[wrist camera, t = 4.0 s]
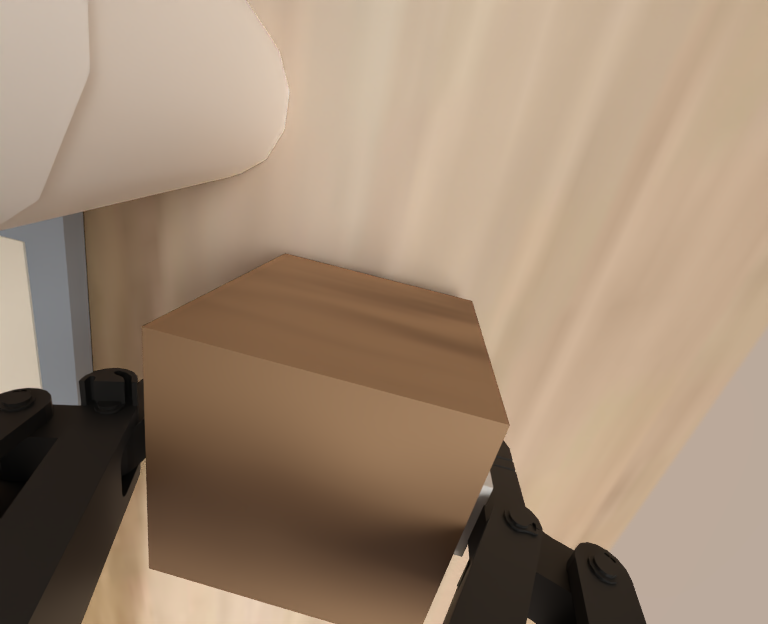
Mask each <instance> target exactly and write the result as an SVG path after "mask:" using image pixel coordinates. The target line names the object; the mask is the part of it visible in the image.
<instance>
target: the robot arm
mask: <svg viewBox="0 0 768 624" xmlns="http://www.w3.org/2000/svg"><path fill="white" fill-rule="evenodd" d="M79 388H80V398H81V405H56V404H52V397H51V394H50V393H49V392H48V391H46V390H43V389H40V388H22V389H15V390H11V391H8V392H4V393H1V394H0V624H81V623H82V620H83V618H84V615H85V612H86V610H87V607H88V605H89V602H90V600H91V597H92V595H93V592H94V590H95V587H96V585H97V582H98V579H99V577H100V574H101V572H102V569H103V567H104V564H105V562H106V559H107V557H108V554H109V551H110V549H111V546H112V544H113V541H114V539H115V536H116V534H117V531H118V529H119V526H120V524H121V521H122V518H123V516H124V513H125V511H126V508H127V506H128V503H129V501H130V498H131V496H132V493H133V490H134V488H135V485H136V483H137V480H138V478H139V475H140V463H141V462H142V461H143V460H144V459H145V458H146V448H145V414H144V381H143V379H142V380H141V381H139V382H138V378H137V376H136V374H135V373H134V372H132V371H130V370H127V369H121V368H109V369H102V370H98V371H94V372H92V373H90V374H87V375H85V376H84V377H83V378H81V379H80V380H79ZM467 545H468V549H469V561H468V563H467V565H466V567H465V569H464V571H463V574H462V576H461V578H460V580H459V582H458V584H457V586H458V587H457V589H456V592H455V594H454V597H453V599H452V602H451V604H450V607H449V610H448V612H447V615H446V617H445V620H444V622H443V624H526V621H527V618H529V619H530V620H532V621H533V622H535V623H536V624H646V621H645V618H644V615H643V612H642V609H641V606H640V603H639V600H638V597H637V595H636V591H635V588H634V586H633V583H632V580H631V578H630V576H629V574H628V572H627V570H626V569H625V568H624V566H623V565H622V564H621V563H620V562H619V560H618V559H617V558H615V557H614V556H613V555H612V554H611V553H610V552H608V551H607V550H605V549H603V548H602V547H600V546H598V545H596V544H592V543H588V542H586V543H580V544H579V545H578V546H577V547H576V548H575V550H572V549H571V548H569V547H567V546H565V545H563V544H562V543H560V542H558V541H556V540H555V539H553V538H551V537H550V536H548V535H547V534H545V533H544V532H543V531H542V526H541V524H540V522H539V520H538V519H537V517H536V516H535V515H534V514H533V513H532V512H531V511H530V510H529V509H528V508H526V507H525V503H524V500H523V496H522V493H521V489H520V485H519V482H518V478H517V474H516V472H515V467H514V463H513V462H512V456H511V453H510V449H509V447H508V446H507V444H506V443H505V442H504V440H503V442H502V444H501V446H500V448H499V451H498V453H497V455H496V458H495V460H494V462H493V464H492V467H491V469H490V471H489V474H488V476H487V478H486V480H485V483H484V485H483V487H482V490H481V492H480V494H479V496H478V499H477V501H476V503H475V506H474V508H473V510H472V512H471V515H470V517H469V519H468V522H467V524H466V526H465V528H464V531H463V533H462V535H461V538H460V540H459V542H458V544H457V547H456V549H455V551H454V555H458V556H461V557H462V556H463V554H464V551H465V549H466V547H467Z"/></svg>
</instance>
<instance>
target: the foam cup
mask: <svg viewBox="0 0 768 624" xmlns="http://www.w3.org/2000/svg"><path fill="white" fill-rule="evenodd" d="M289 93H290V90H289V86H288V82H287V79H286V75H285V71H284V67H283V63H282V59H281V55H280V51H279V49H278V48H277V46H276V45H275V42H274V41H273V39H272V38H271V36H270V35H269V33H268V32H267V30H266V29H265V27H264V26H263V24H262V23H261V21H260V20H259V18H258V17H257V15H256V14H255V12H254V11H253V9H252V8H251V6H250V5H249V3H248V2H247V0H0V231H1V230H6V229H10V228H14V227H19V226H23V225H27V224H31V223H36V222H40V221H44V220H49V219H53V218H57V217H61V216H66V215H70V214H74V213H79V212H83V211H87V210H91V209H96V208H100V207H104V206H109V205H113V204H117V203H121V202H126V201H130V200H134V199H139V198H143V197H147V196H151V195H156V194H160V193H164V192H169V191H173V190H177V189H181V188H186V187H190V186H194V185H199V184H203V183H207V182H211V181H216V180H220V179H224V178H229V177H232V176H234V175H239V174H241V173H243V172H245V171H247V170H248V169H250V168H252V167H254V166H255V165H257V164H259V163H261V162H263V161H264V160H266V159H267V158H268V156H269V154H270V153H271V151H272V150H273V148H274V146H275V145H276V143H277V142H278V140H279V138H280V137H281V135H282V134H283V132H284V130H285V124H286V116H287V108H288V101H289Z"/></svg>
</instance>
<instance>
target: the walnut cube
mask: <svg viewBox="0 0 768 624" xmlns="http://www.w3.org/2000/svg"><path fill="white" fill-rule="evenodd" d="M142 348H143V381H144V414H145V448H146V481H147V514H148V547H149V568H150V569H153V570H157V571H160V572H164V573H167V574H170V575H174V576H177V577H180V578H184V579H187V580H190V581H194V582H197V583H201V584H204V585H207V586H211V587H214V588H217V589H221V590H224V591H227V592H231V593H234V594H237V595H241V596H244V597H248V598H251V599H254V600H258V601H261V602H264V603H268V604H271V605H274V606H278V607H281V608H285V609H288V610H291V611H295V612H298V613H301V614H305V615H308V616H311V617H315V618H318V619H321V620H325V621H328V622H332V623H335V624H423V622H424V620H425V618H426V615H427V613H428V611H429V609H430V606H431V604H432V602H433V599H434V597H435V595H436V593H437V590H438V588H439V586H440V583H441V581H442V579H443V576H444V574H445V572H446V570H447V567H448V565H449V563H450V560H451V558H452V556H453V554H454V551H455V549H456V547H457V544H458V542H459V540H460V538H461V535H462V533H463V531H464V528H465V526H466V524H467V522H468V519H469V517H470V515H471V512H472V510H473V508H474V506H475V503H476V501H477V499H478V496H479V494H480V492H481V490H482V487H483V485H484V483H485V480H486V478H487V476H488V474H489V471H490V469H491V467H492V464H493V462H494V460H495V458H496V455H497V453H498V451H499V448H500V446H501V444H502V442H503V439H504V437H505V435H506V432H507V430H508V428H509V426H510V424H509V421H508V418H507V415H506V411H505V408H504V405H503V401H502V398H501V395H500V392H499V388H498V385H497V382H496V378H495V375H494V372H493V369H492V365H491V362H490V359H489V355H488V352H487V349H486V346H485V342H484V339H483V336H482V332H481V329H480V326H479V323H478V319H477V316H476V313H475V309H474V306H473V303H472V301H470V300H466V299H462V298H458V297H454V296H450V295H446V294H442V293H439V292H435V291H431V290H427V289H423V288H419V287H415V286H411V285H407V284H403V283H399V282H395V281H391V280H388V279H384V278H380V277H376V276H372V275H368V274H364V273H360V272H356V271H352V270H348V269H344V268H340V267H337V266H333V265H329V264H325V263H321V262H317V261H313V260H309V259H305V258H301V257H297V256H293V255H289V254H286V253H285V254H283V255H281V256H279V257H277V258H275V259H273V260H271V261H269V262H268V263H266V264H264V265H262V266H260V267H258V268H256V269H254V270H252V271H250V272H248V273H246V274H244V275H242V276H240V277H238V278H236V279H234V280H232V281H230V282H228V283H226V284H224V285H222V286H220V287H218V288H216V289H214V290H213V291H211V292H209V293H207V294H205V295H203V296H201V297H199V298H197V299H195V300H193V301H191V302H189V303H187V304H185V305H183V306H181V307H179V308H177V309H175V310H173V311H171V312H169V313H167V314H165V315H163V316H161V317H159V318H158V319H156V320H154V321H152V322H150V323H148V324H146V325H144V326H142Z"/></svg>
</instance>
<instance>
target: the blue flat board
mask: <svg viewBox="0 0 768 624" xmlns="http://www.w3.org/2000/svg"><path fill="white" fill-rule="evenodd" d="M92 372H93V365H92V349H91V333H90V318H89V302H88V286H87V270H86V255H85V239H84V223H83V212H79V213H74V214H70V215H66V216H61V217H57V218H53V219H49V220H44V221H40V222H36V223H31V224H27V225H23V226H19V227H14V228H10V229H6V230H1V231H0V394H1V393H4V392H8V391H11V390H15V389H22V388H40V389H43V390H46V391H48V392H49V393H50V394H51V397H52V404H56V405H81V398H80V388H79V380H80V379H81V378H83V377H84V376H85V375H87V374H90V373H92Z"/></svg>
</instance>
